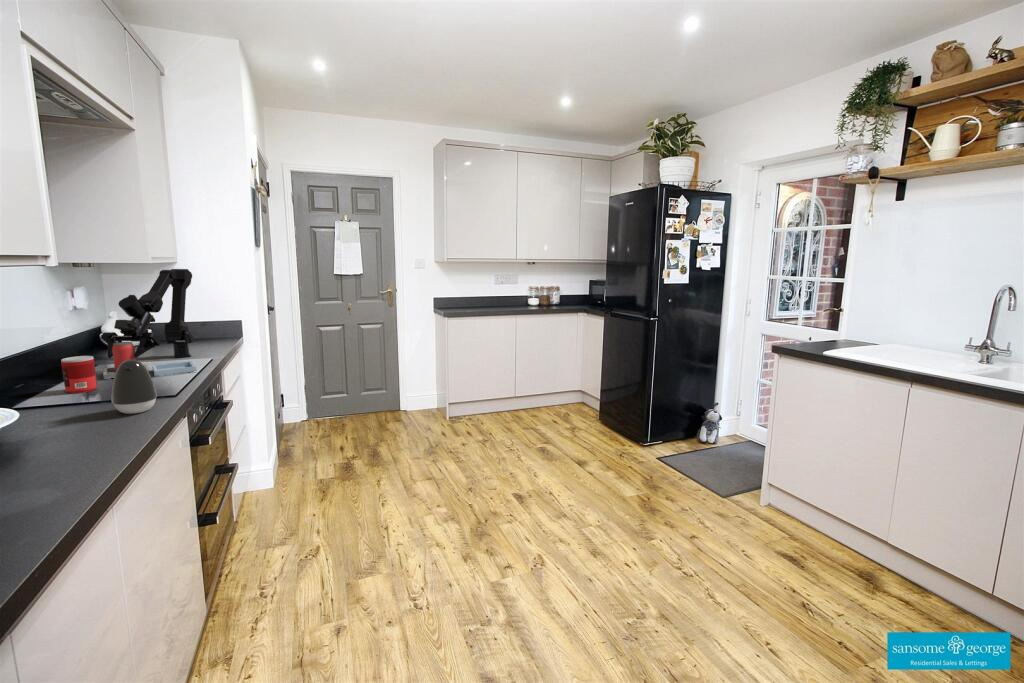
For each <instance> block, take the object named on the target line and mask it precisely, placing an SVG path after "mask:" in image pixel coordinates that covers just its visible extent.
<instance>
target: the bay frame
mask: <svg viewBox="0 0 1024 683" xmlns="http://www.w3.org/2000/svg"><path fill="white" fill-rule="evenodd" d="M142 364H143V363H142ZM143 365H144V366H145V367H146V369H147V370H148V372H149V373H150V370H149V367H148V364H147V363H145V364H143ZM108 372H115V367H114V366H112V367H104V368H103V372H102V373H103V374H102V375H103V380H104V379H109V380H111V379H110V378H114V377H115V374H116V373H108Z"/></svg>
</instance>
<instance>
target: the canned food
mask: <svg viewBox="0 0 1024 683" xmlns="http://www.w3.org/2000/svg"><path fill="white" fill-rule="evenodd" d="M60 360H61V361H60V364H61V370H62V376H63V384H64V389H65V392H66V393H67V394H70V393H74V394H83V392H84V393H89V392H92V391H95V389H96V390H97V388H98V382H97V374H96V373H97V372H96V367H95V366H96V365H95V358H94V356H92V355H79V356H71V357H70V356H69V357H65V358H62V359H60Z"/></svg>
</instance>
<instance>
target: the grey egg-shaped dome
mask: <svg viewBox="0 0 1024 683" xmlns="http://www.w3.org/2000/svg"><path fill="white" fill-rule="evenodd" d="M157 397H158V393H157V390H156V386H155V383H154V381H153V378H152V375H151V374H150V371H149V372H148V370H147V369H146V367H145V366H144V365H143V363H142V362H141V361H140V360H137V359H136V360H126V361H124V362H122V363H121V364H120V366H119V367H118V369H117V371H116V374H115V377H114V379H113V382H112V387H111V403H112V404H113V405H114V407H115V409H116V410H117V411H119V412H120V413H123V414H127V415H135V414H141V413H145V412H147V411H149V410H151V408H153V406H154V405H155V404H156V399H157Z"/></svg>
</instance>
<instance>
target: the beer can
mask: <svg viewBox="0 0 1024 683" xmlns="http://www.w3.org/2000/svg"><path fill="white" fill-rule="evenodd" d="M113 345H114V346H113V349H112V352H113V356H112V357H113V358H112V359H113V367H115V373H116V371H117V369H118V367H119V366H120V364H121V363H122V362H124V361H126V360H137V358H135V357H134V354H135V352H136V348H135V345H134V344H133V342H132V341H122V342H119V343H114V344H113Z"/></svg>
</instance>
